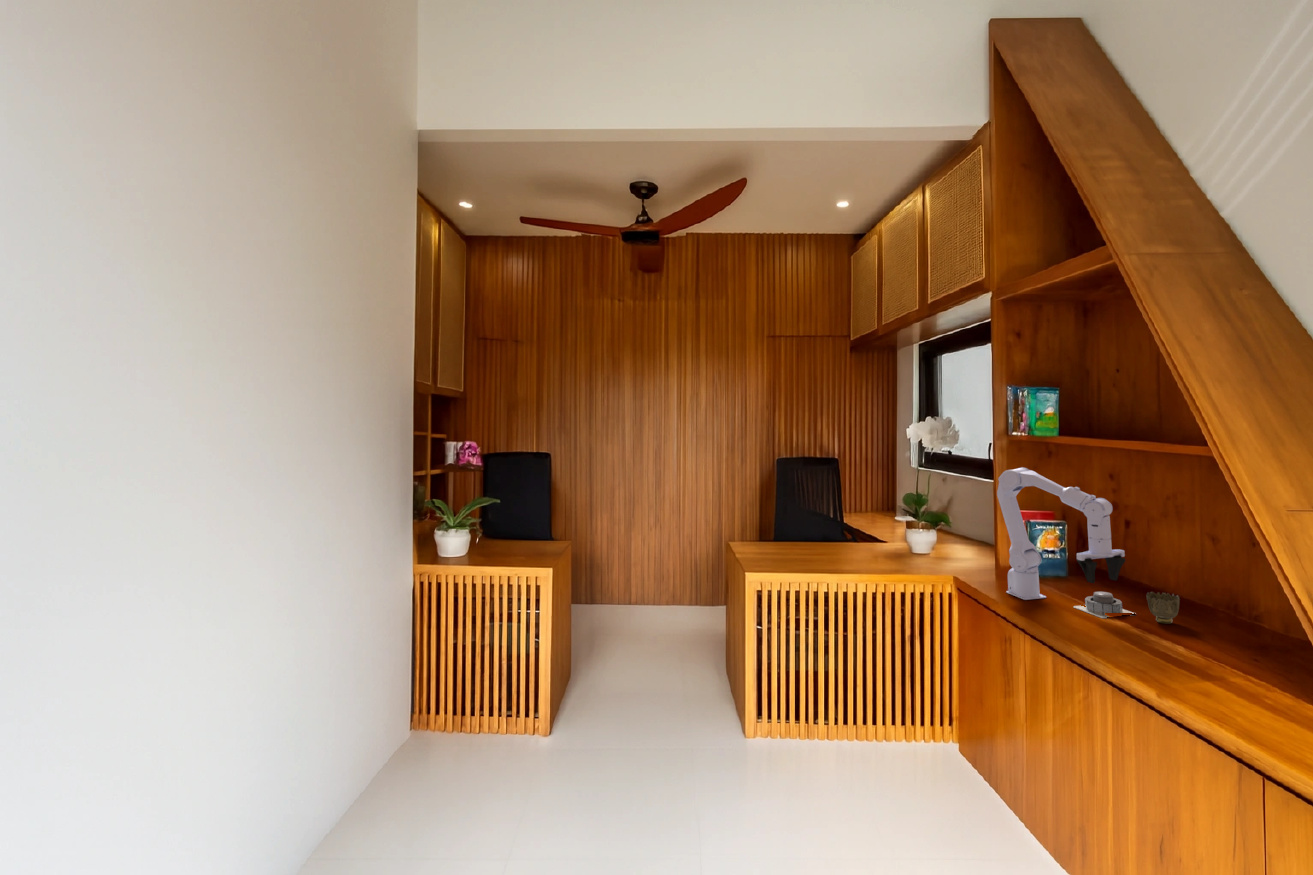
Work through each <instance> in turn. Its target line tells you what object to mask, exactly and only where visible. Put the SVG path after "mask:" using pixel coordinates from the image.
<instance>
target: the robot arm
mask: <svg viewBox="0 0 1313 875" xmlns="http://www.w3.org/2000/svg"><path fill="white" fill-rule="evenodd" d="M997 479H998V486H997V491H996V496H997V499H998V503H999V507H1000V509H1001V513H1002V517H1003V519H1004V523H1005V526H1006V529H1007V533H1008V536H1009V540H1010V543H1011V544H1010V548H1009V549H1008V553H1009V558H1008V559H1009V560H1008V562H1009V565H1010V567H1011V568H1010V569H1009V570H1008V572H1007V590H1006V592H1005V593H1007V594H1009V595H1011V596H1015V597H1017V598H1019V599H1022V600H1024V601H1027V600H1037V599H1038V600H1039V599H1046V598H1047V596H1046V595H1044V594H1042V593H1040V577H1039V575H1040V574H1039V566H1040V565H1041V563H1042V556H1041V554H1040V553H1039V552H1038V551H1037V549H1036V545H1034V543H1033V542H1031V541H1030V539H1029V536H1028V533H1027V529H1026V525H1025V523H1024V519H1023V516H1022V512H1021V509H1020V506H1019V503H1018V502H1019V501H1018V500H1017V495H1018V494H1019V493H1020V492H1021V490H1023V489H1024V488H1025V487H1036V488H1038V489H1041V490H1043V491H1046V492H1047V493H1049V494H1052V495H1055V496H1057V497H1059V499H1060V501H1061V503H1063V504H1065V505H1067V506H1069V507H1072V508H1074V509H1076V510H1078V511H1080V512H1081V513H1083V515H1084V516H1085V517H1086V519H1087V523H1086V524H1087V537H1088V550H1086V551H1083V552H1077V553H1076V562H1077V563H1078V565H1079V566H1080V567H1081V570H1082V571H1083V573H1084V576H1085V579H1086V581H1087V583H1090V584H1095V582H1096V568H1097V566H1098V565H1097V564H1098V562H1096V561H1094V560H1096V559H1098V560H1099V559H1104V560H1105V563H1106V566H1107V572H1108V579H1109V580H1111V581H1114V582H1117V581H1118V578H1119V575H1120V574H1119V573H1120V572H1121V568H1122V567H1123V565H1124V564H1125V563H1126V558H1125V556H1126V554H1125V552H1126V551H1125V550H1124V549H1118V548H1117V549H1116V548H1115V549H1112V548H1113V547H1112V531H1111V530H1112V529H1111V518H1110V517H1111V516H1110V515H1111V514H1112V513H1113V511H1114V510H1113V508H1114V507H1113V505H1112V503H1111V502H1110V501H1109V500H1107V499H1106V498H1104V497H1097V495H1094V494H1089V493H1086V492H1084V491H1082V490H1081V488H1080V487H1079V486H1075V487H1073V486H1068V487H1065V486H1062V485H1060V484H1059V483H1056V482H1055V481H1053V480H1050V478H1049V479H1048V478H1046V477H1045V476H1043V475H1041V474H1039V473H1038V472H1036V471H1034V470H1031V469H1029V468H1027V467H1018V468H1014V469H1006V470H1004V471H1003V472H1002V473H1001V474H1000V476H999V477H998V478H997ZM1096 497H1097V498H1096Z"/></svg>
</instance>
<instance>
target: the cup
mask: <svg viewBox="0 0 1313 875" xmlns="http://www.w3.org/2000/svg"><path fill="white" fill-rule="evenodd" d="M1145 595H1146V600H1147V605H1148V608H1149V612H1150V613H1151V614H1152V615H1153V616H1155V621H1156V622H1157V623H1160V624H1164V625H1165V624H1167V625H1169V624H1172V623H1173V620H1174V618H1176V617H1177V616H1178V614H1179V609H1180V600H1181V597H1180V596H1179V594H1177V595H1175V594H1174V593H1172V594H1170V593H1169V592H1167V593H1166V592H1163V591H1162V593H1160V592H1159V591H1158V592H1156V593H1155V592H1154V591H1150V592H1149V591H1148V592H1146V593H1145Z"/></svg>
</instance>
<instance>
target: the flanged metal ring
mask: <svg viewBox="0 0 1313 875" xmlns="http://www.w3.org/2000/svg"><path fill="white" fill-rule="evenodd" d="M1113 600H1114V603H1110V604H1108V603H1098V602H1094V600H1093V595H1091V596H1090V595H1089V596H1086V597H1085V598H1084V602H1085V603H1084V605H1085V606H1086V607H1084V606H1081V605H1082V604H1081V605H1074V606H1073V608H1074V609H1077V610H1080V611H1083V612H1085V613H1087V614H1090V615H1092V616H1095V617H1097V618H1101V619H1108V618H1107V617H1109V616H1107V615H1105V613H1132V614H1134V613H1135V614H1136V615H1137V613H1136V612H1132V611H1130V610H1127V609H1124V608H1123V602H1122V601H1121V599H1117V598H1115V597H1113Z"/></svg>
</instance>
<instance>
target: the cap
mask: <svg viewBox="0 0 1313 875" xmlns="http://www.w3.org/2000/svg"><path fill="white" fill-rule="evenodd" d="M1092 596H1093V600H1094V602H1098V603H1108V604H1110V603H1114V600H1113V598H1114V596H1113V593H1111V592H1107V591H1094V592H1093V595H1092Z"/></svg>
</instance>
